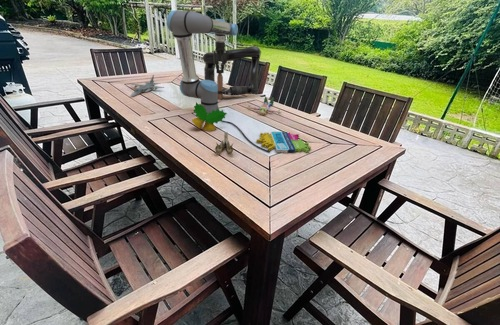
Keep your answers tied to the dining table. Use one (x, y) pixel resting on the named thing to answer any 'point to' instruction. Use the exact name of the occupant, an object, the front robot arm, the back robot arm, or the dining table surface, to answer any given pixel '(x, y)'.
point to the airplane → (145, 87)
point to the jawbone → (224, 145)
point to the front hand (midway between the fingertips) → (220, 72)
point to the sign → (283, 142)
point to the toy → (265, 107)
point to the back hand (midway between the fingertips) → (216, 91)
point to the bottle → (220, 85)
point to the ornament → (207, 117)
